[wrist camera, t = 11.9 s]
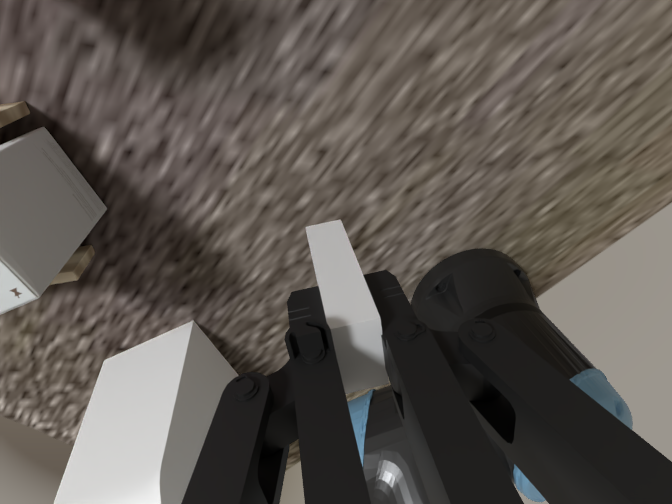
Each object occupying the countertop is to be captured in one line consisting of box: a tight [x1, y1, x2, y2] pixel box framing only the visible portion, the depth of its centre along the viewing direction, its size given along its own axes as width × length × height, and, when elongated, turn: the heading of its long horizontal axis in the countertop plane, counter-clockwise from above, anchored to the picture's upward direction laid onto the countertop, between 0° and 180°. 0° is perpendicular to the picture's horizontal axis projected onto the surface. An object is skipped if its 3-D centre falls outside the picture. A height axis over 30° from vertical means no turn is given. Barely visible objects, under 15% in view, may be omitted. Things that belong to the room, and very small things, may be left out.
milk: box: [54, 320, 239, 504], centre depth 41 cm, size 12×12×26 cm
